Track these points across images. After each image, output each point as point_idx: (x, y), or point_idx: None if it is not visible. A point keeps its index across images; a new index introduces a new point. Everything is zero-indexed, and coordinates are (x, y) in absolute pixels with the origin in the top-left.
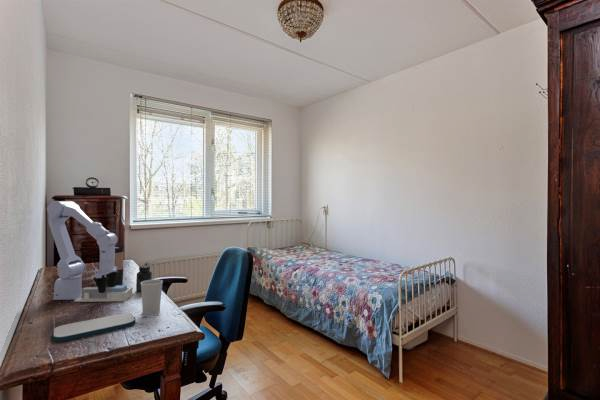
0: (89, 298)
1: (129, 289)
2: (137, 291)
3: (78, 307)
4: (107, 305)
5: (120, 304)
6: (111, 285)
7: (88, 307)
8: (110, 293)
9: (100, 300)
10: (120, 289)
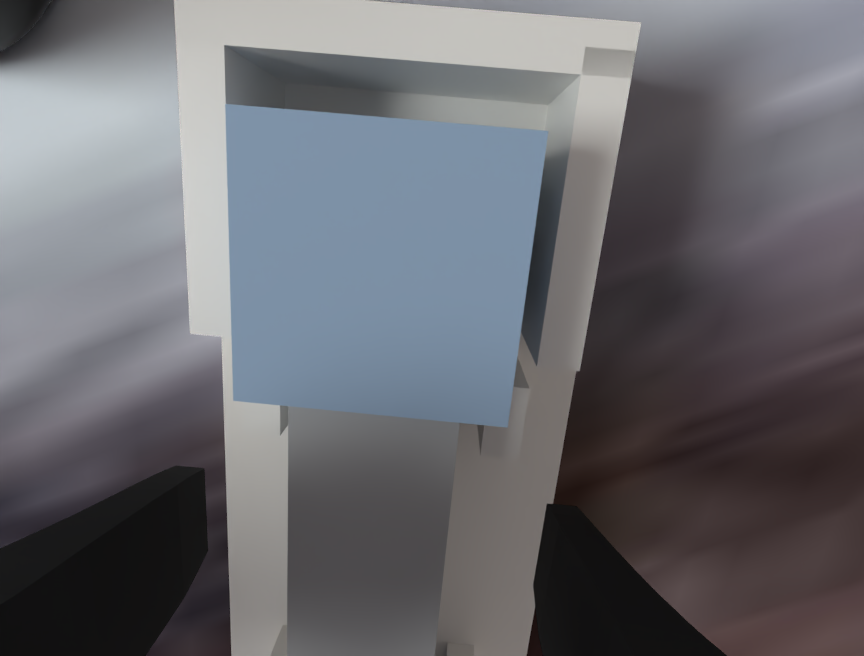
0: (445, 640)
1: (360, 3)
2: (47, 4)
3: (760, 631)
4: (795, 289)
5: (811, 74)
6: (178, 527)
7: (805, 519)
8: (528, 390)
9: (556, 473)
10: (532, 190)
